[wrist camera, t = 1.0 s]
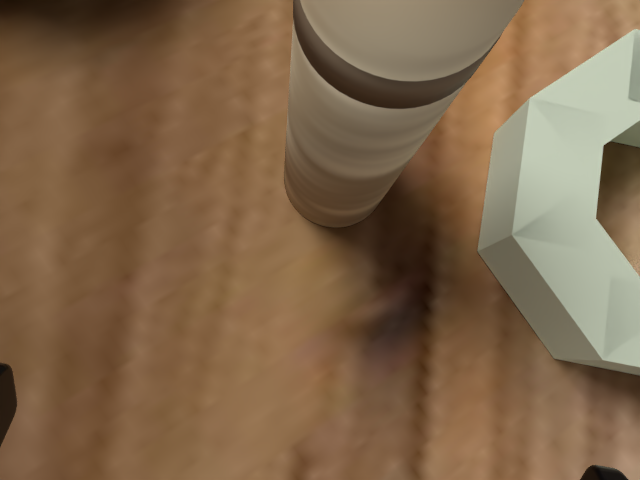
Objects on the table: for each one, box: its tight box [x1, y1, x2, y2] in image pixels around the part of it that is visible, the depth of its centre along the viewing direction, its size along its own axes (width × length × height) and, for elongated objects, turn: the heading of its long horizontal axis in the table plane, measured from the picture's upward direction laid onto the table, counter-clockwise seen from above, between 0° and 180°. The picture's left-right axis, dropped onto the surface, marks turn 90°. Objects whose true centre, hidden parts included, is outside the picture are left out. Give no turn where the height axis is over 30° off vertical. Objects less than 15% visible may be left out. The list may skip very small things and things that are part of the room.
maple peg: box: [284, 0, 524, 228], centre depth 17 cm, size 4×4×14 cm
